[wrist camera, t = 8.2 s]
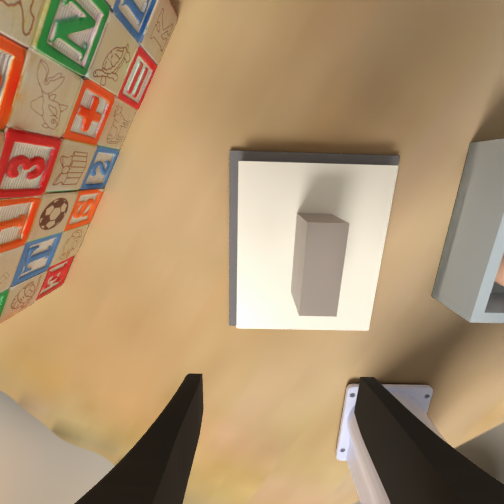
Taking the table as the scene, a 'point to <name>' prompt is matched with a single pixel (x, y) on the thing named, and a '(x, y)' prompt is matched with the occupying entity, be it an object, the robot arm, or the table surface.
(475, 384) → the table surface
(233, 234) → the mat
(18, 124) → the stack of blocks
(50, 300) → the table surface
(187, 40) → the table surface
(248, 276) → the lid
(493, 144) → the box
